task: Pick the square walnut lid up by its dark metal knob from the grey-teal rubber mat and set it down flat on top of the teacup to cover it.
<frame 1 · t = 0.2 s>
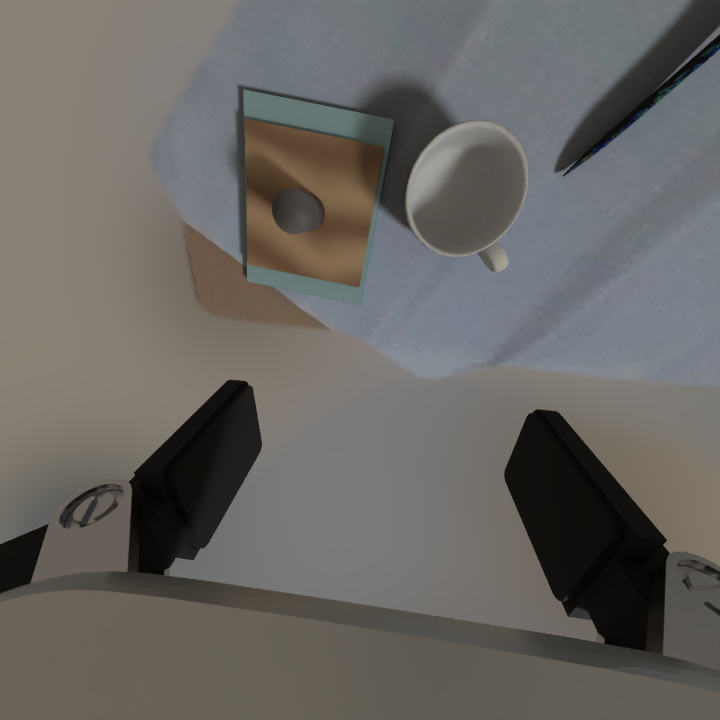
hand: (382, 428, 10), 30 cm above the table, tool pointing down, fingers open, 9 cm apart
lid: (309, 212, 33), point 1 cm above the table, touching mat
mat: (312, 212, 34), on the table
teacup: (454, 212, 33), on the table
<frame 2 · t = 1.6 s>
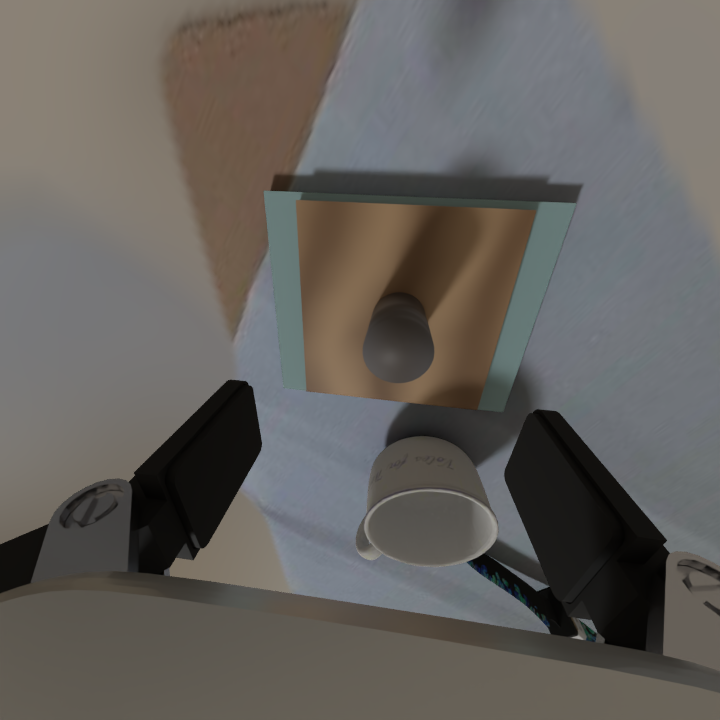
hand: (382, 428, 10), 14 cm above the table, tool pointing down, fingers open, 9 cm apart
lid: (398, 315, 21), point 1 cm above the table, touching mat
mat: (398, 311, 22), on the table
knife: (528, 578, 37), on the table
teacup: (409, 463, 30), on the table
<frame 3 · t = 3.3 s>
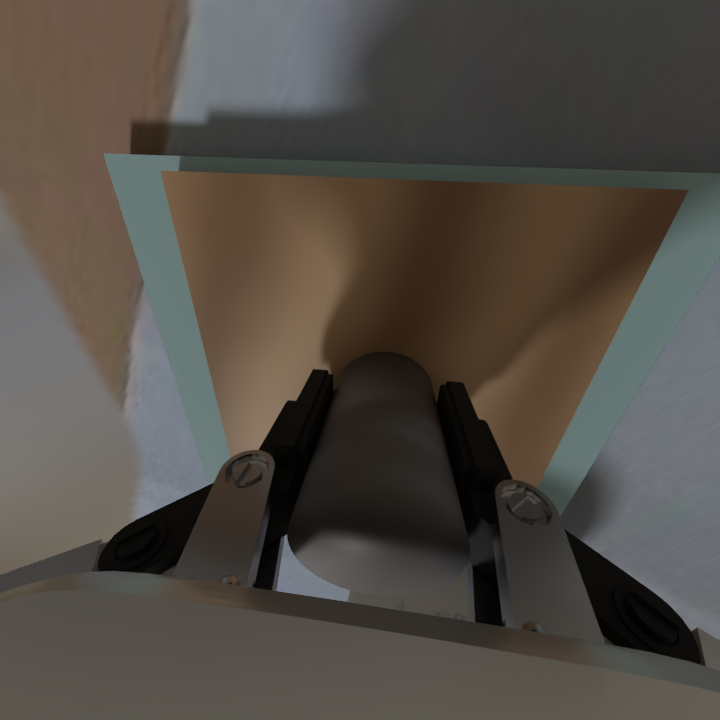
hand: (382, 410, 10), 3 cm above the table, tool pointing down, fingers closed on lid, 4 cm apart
lid: (384, 384, 12), point 1 cm above the table, touching gripper, mat
mat: (385, 373, 13), on the table
teacup: (405, 568, 21), on the table
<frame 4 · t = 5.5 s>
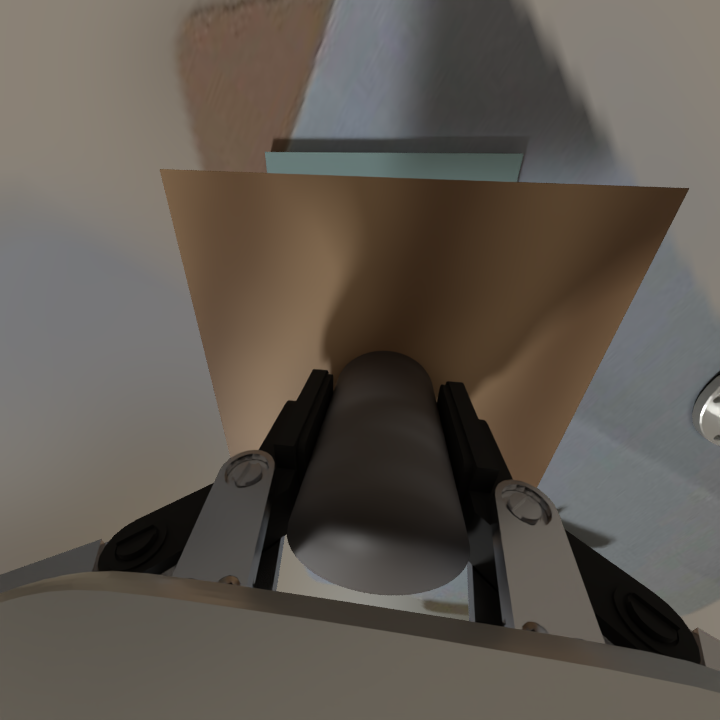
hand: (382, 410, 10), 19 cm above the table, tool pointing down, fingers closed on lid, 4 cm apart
lid: (384, 384, 12), point 17 cm above the table, touching gripper
mat: (383, 259, 26), on the table
when the fingers open (11 cm above the table, at t = 8.1 s): lid drops 2 cm, resting on teacup.
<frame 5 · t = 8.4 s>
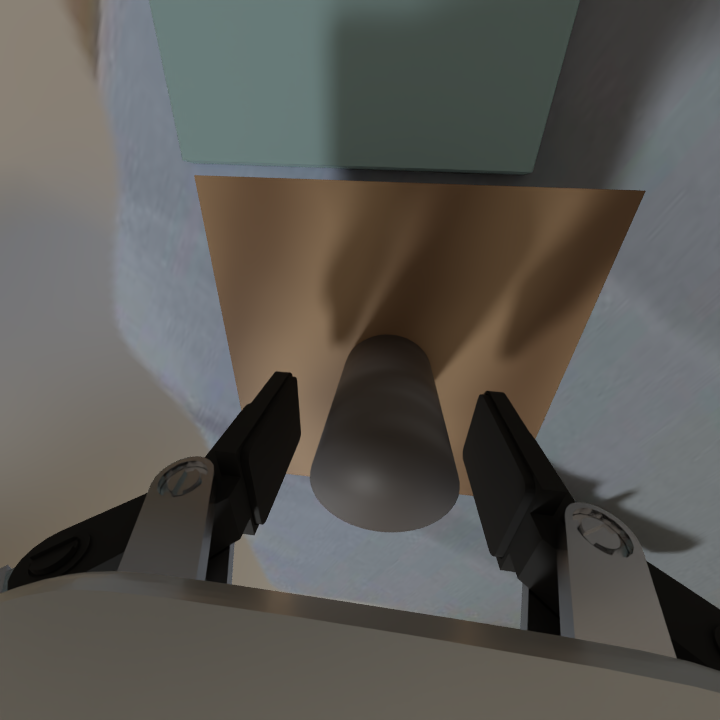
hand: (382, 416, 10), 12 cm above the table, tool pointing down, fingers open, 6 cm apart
lid: (387, 366, 13), point 8 cm above the table, touching teacup
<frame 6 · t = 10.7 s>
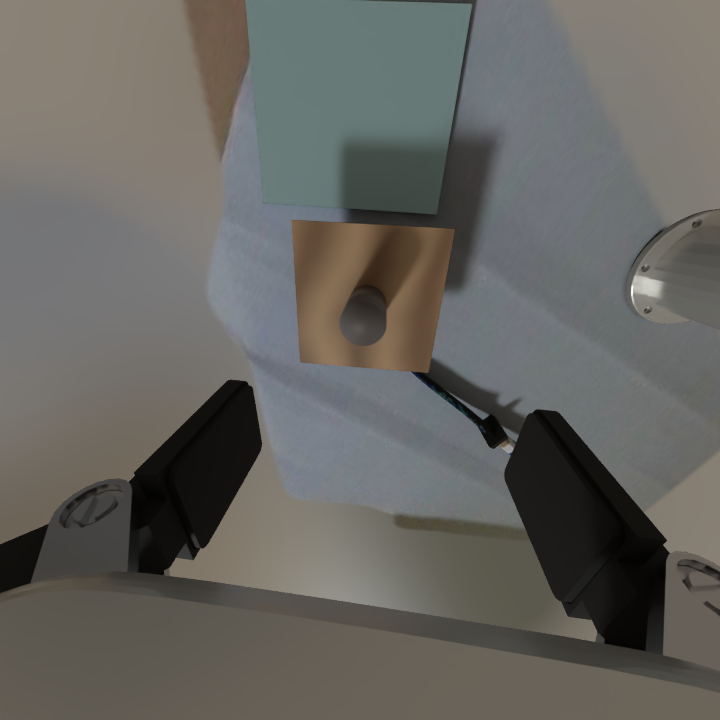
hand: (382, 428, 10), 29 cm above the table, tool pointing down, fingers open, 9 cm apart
lid: (367, 302, 29), point 8 cm above the table, touching teacup
mat: (353, 121, 29), on the table
knife: (472, 409, 44), on the table
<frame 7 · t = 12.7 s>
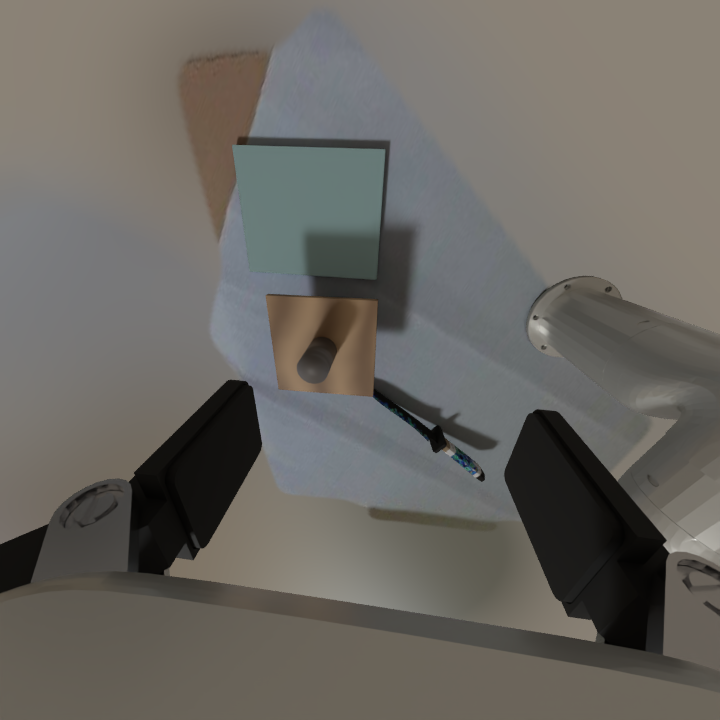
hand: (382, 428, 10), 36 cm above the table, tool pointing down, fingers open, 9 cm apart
lid: (324, 347, 40), point 8 cm above the table, touching teacup
mat: (311, 217, 40), on the table
knife: (422, 420, 55), on the table
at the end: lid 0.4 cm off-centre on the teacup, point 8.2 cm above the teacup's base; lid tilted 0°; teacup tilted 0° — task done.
